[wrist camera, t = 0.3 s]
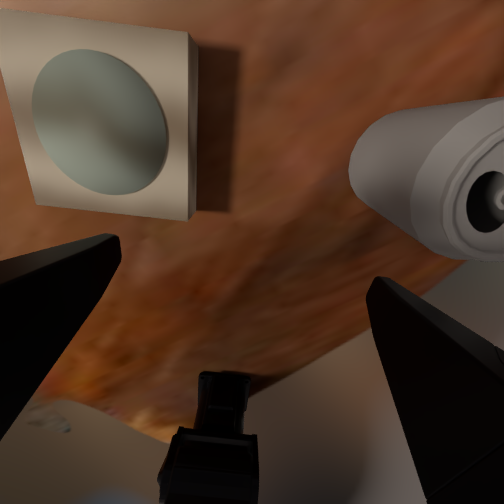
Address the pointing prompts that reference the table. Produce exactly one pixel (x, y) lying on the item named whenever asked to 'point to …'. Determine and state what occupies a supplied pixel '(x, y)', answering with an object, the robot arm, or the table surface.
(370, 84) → the table surface
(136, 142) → the pedestal
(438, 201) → the can
